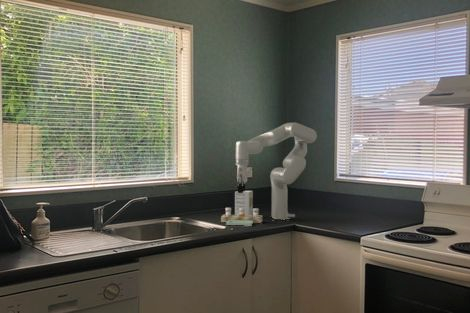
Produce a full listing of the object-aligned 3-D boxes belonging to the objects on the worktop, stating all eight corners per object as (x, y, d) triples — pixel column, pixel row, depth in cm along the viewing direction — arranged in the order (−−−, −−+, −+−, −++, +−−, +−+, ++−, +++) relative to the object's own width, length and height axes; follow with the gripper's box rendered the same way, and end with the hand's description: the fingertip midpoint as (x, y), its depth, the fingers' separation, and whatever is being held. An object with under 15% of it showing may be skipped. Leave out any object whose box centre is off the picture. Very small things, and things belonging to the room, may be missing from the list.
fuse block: (262, 222, 277) (262, 215, 277) (261, 224, 269) (261, 217, 269) (223, 221, 280) (223, 214, 280) (221, 223, 272) (221, 216, 272)
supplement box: (249, 219, 286) (249, 192, 286) (234, 219, 289) (234, 191, 288) (253, 217, 296) (253, 190, 295) (238, 216, 298) (238, 190, 298)
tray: (253, 224, 269) (253, 220, 269) (251, 227, 260) (251, 223, 260) (228, 223, 271) (228, 220, 271) (226, 226, 262) (226, 222, 262)
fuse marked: (245, 221, 276) (245, 207, 276) (244, 222, 273) (244, 208, 273) (239, 221, 277) (239, 207, 276) (238, 222, 273) (238, 208, 273)
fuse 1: (231, 221, 277) (231, 207, 277) (230, 222, 274) (230, 208, 274) (225, 221, 278) (226, 207, 277) (225, 222, 274) (225, 208, 274)
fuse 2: (258, 222, 275) (258, 208, 275) (258, 222, 272) (258, 209, 272) (253, 221, 275) (253, 208, 275) (252, 222, 272) (252, 208, 272)
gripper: (246, 163, 265) (246, 193, 265) (250, 162, 282) (249, 191, 282) (233, 162, 266) (232, 193, 266) (237, 162, 283) (237, 190, 283)
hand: (241, 192), depth 274 cm, fingers open, 9 cm apart
